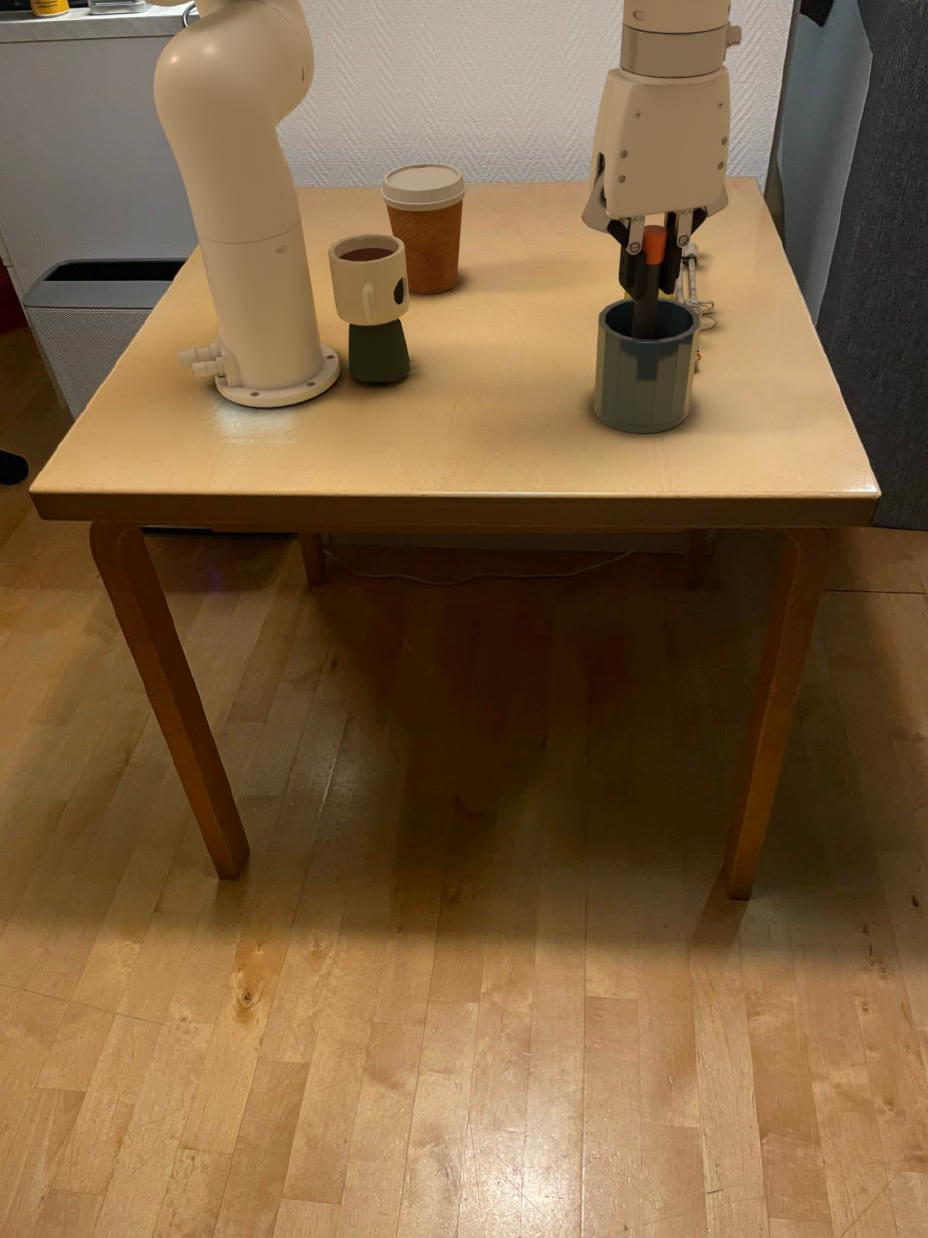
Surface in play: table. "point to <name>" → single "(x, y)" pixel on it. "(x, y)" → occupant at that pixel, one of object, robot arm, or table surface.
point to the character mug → (372, 303)
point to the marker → (649, 283)
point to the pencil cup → (645, 367)
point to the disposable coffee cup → (427, 222)
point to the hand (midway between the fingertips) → (647, 288)
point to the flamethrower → (693, 302)
